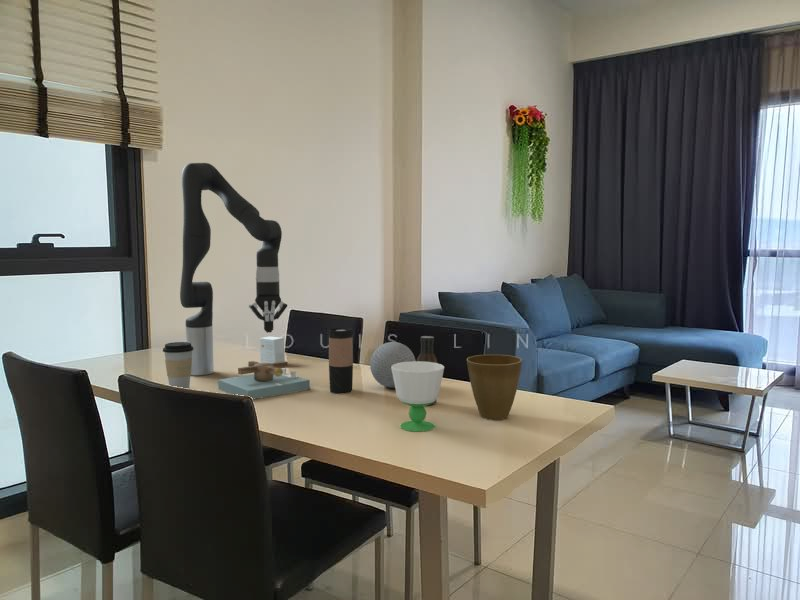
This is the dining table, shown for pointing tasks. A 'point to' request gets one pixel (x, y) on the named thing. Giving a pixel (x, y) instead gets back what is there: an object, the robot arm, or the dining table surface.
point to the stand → (264, 385)
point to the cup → (417, 390)
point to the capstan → (263, 370)
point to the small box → (272, 350)
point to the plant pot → (494, 383)
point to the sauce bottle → (427, 352)
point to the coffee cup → (178, 363)
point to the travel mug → (340, 360)
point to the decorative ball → (388, 361)
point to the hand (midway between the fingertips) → (268, 332)
